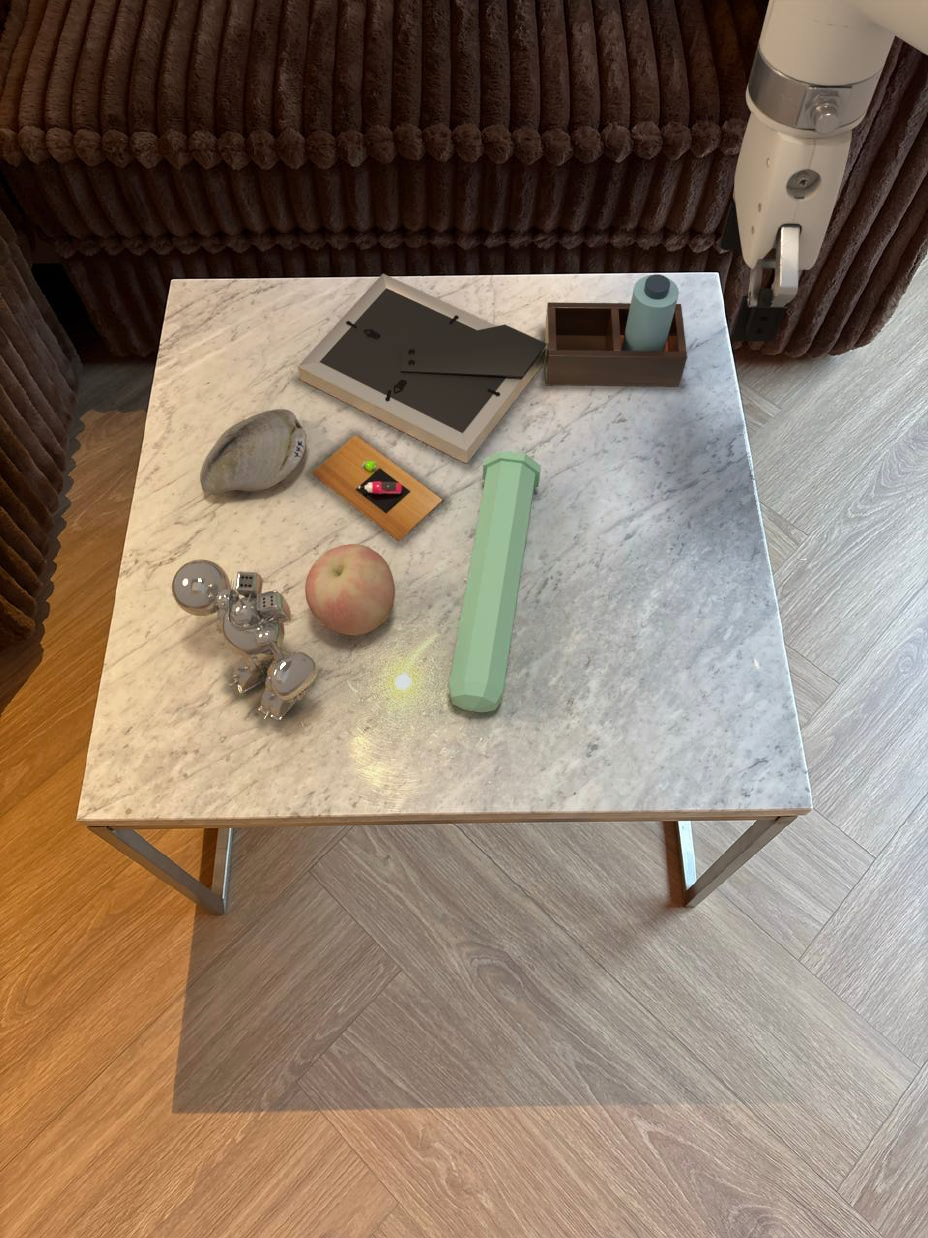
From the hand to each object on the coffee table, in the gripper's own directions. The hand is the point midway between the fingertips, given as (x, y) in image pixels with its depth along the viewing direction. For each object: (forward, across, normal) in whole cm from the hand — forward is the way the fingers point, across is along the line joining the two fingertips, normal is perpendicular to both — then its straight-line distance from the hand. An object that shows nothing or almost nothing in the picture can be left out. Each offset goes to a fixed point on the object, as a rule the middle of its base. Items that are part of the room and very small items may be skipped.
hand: (745, 291), depth 73 cm
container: (+24, -14, +19) cm, 34 cm away
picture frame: (+23, +12, +27) cm, 38 cm away
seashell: (+23, -1, +43) cm, 49 cm away
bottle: (+23, +15, +4) cm, 27 cm away
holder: (+23, +15, +7) cm, 29 cm away
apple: (+23, -17, +32) cm, 43 cm away
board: (+23, -3, +31) cm, 39 cm away
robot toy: (+23, -23, +40) cm, 51 cm away
